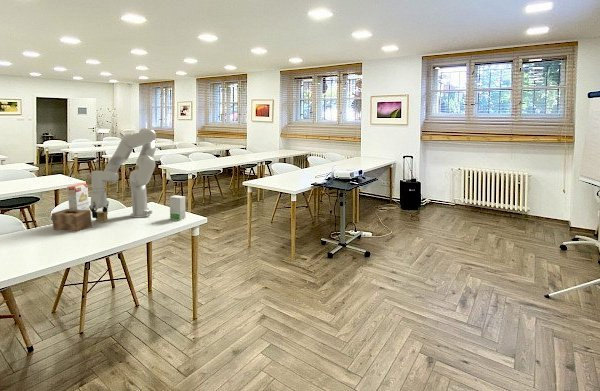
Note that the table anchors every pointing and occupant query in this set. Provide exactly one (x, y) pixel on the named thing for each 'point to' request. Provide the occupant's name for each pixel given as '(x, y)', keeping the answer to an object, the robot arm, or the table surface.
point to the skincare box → (177, 207)
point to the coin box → (71, 220)
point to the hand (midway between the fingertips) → (100, 216)
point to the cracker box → (78, 196)
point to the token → (101, 216)
